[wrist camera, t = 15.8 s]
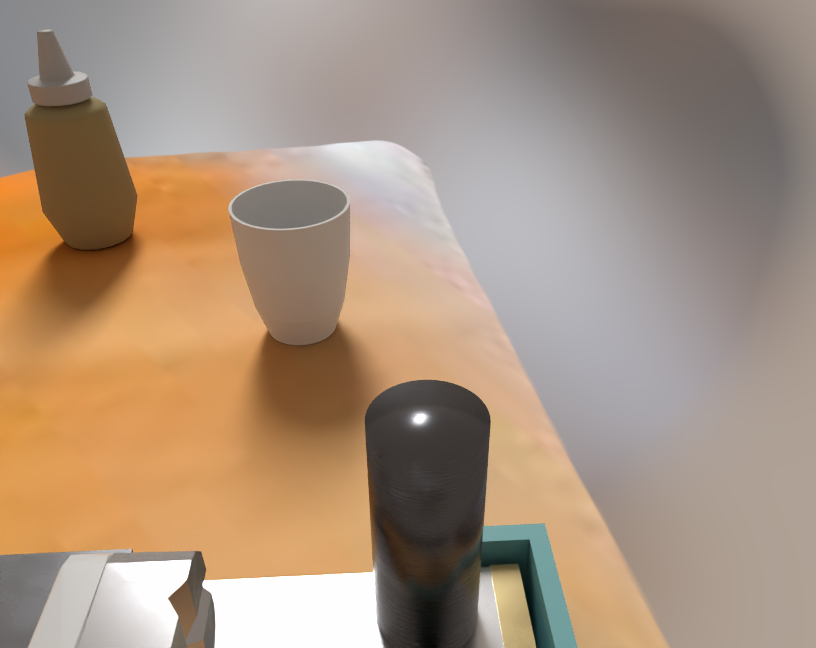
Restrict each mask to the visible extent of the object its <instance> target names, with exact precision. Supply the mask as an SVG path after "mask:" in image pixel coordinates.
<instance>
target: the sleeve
mask: <svg viewBox="0 0 816 648" xmlns="http://www.w3.org/2000/svg"><path fill="white" fill-rule="evenodd" d="M107 553H133V550H132V549H119V550H99V551H78V552H57V553H36V554H15V555H0V648H28V646H29V643H30V641H31V638H32V636H33V634H34V631H35V629H36V626H37V624H38V621H39V619H40V616H41V614H42V611H43V609H44V607H45V604H46V602H47V599H48V597H49V594H50V592H51V589H52V587H53V585H54V582H55V580H56V577H57V575H58V572H59V570H60V568H61V566H62V565H63V564H64V563H65V562H66V560H67V559H68V558H69V557H70V555H79V554H107Z"/></svg>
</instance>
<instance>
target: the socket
mask: <svg viewBox="0 0 816 648" xmlns="http://www.w3.org/2000/svg"><path fill="white" fill-rule="evenodd" d="M501 564H519V569H520V574H521V578H522V583H523V588H524V592H525V597H526V602H527V606H528V611H529V616H530V620H531V625H532V630H533V634H534V639H535V644H536V648H578V647H577V644H576V640H575V636H574V632H573V628H572V625H571V621H570V617H569V613H568V610H567V606H566V602H565V598H564V595H563V591H562V587H561V583H560V579H559V576H558V572H557V568H556V564H555V561H554V557H553V553H552V549H551V545H550V542H549V538H548V534H547V530H546V527H545V524H524V525H503V526H483V541H482V556H481V567H490V565H501Z"/></svg>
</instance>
